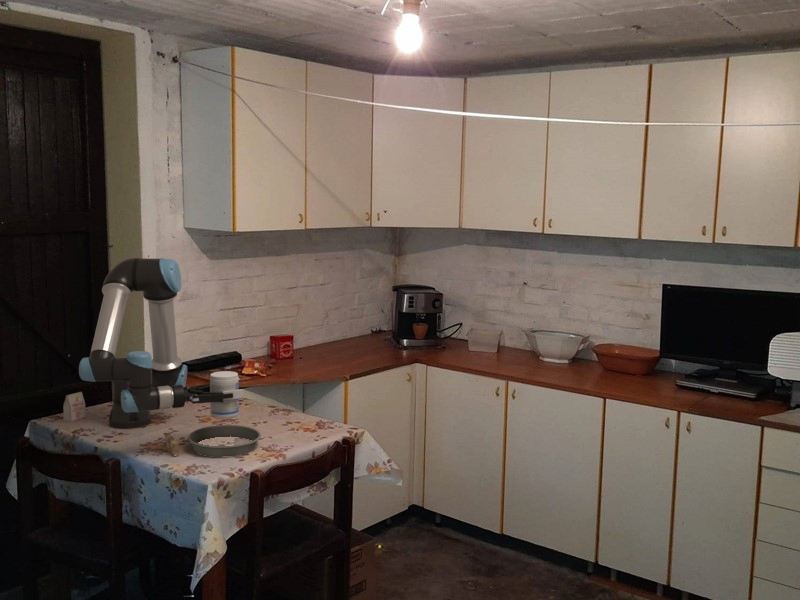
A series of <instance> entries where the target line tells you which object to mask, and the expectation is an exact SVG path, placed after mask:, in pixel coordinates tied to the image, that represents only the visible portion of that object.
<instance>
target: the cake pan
mask: <svg viewBox="0 0 800 600" xmlns="http://www.w3.org/2000/svg"><path fill="white" fill-rule="evenodd" d="M230 436H231V437H239V438H238V439H242V438H245V439H244V440H247V439H249V440H248V441H249V442H245V443H242V444H235V445H233V446H209V445H203V444H199V443H198V442H200V441H202V440H205V439H210V438H215V437H230ZM261 437H262V433H261V432H260V430H258V429H256V428H254V427H252V426H251V427H250V426H246V425H242V424H241V425H239V424H218V425H217V424H216V425H210V426H205V427H201V428H198V429H195V430H193V431H191V432H190V433H189V434H188V435H187V440H188V441H189V442H190V443H191V446H192V450H194V451H195V453H196V454H197V453H199V454H198V455H200V454H201V455H200V456H203V455H206V456H205V457H209V456H213V457H212V458H223V457H222V456H232V457H238V456H242V455H245V453H246V454H249V453H250V451H251V452H252V451H254V450H255V449H256V446H257V443H258V441H259V440H260V439H261ZM250 440H252V441H250ZM194 451H193V452H194ZM237 455H238V456H237Z"/></svg>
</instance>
